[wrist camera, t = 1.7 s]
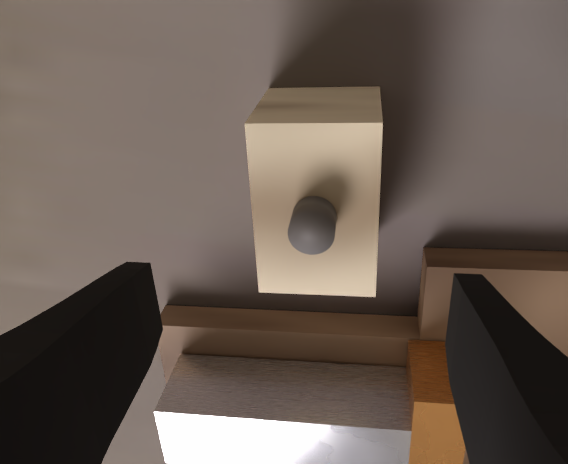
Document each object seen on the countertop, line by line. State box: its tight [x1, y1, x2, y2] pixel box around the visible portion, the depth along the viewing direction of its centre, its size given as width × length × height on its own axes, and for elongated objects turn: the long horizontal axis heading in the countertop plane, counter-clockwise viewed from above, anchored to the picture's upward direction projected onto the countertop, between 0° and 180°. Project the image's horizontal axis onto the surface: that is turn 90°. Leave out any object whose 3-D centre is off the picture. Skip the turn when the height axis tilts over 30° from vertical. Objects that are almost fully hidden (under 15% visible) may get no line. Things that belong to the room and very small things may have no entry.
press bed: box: [158, 247, 568, 464], centre depth 22 cm, size 13×30×6 cm, turn 93°
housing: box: [245, 86, 383, 297], centre depth 18 cm, size 6×4×6 cm, turn 3°
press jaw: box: [154, 340, 465, 464], centre depth 22 cm, size 6×12×3 cm, turn 93°
